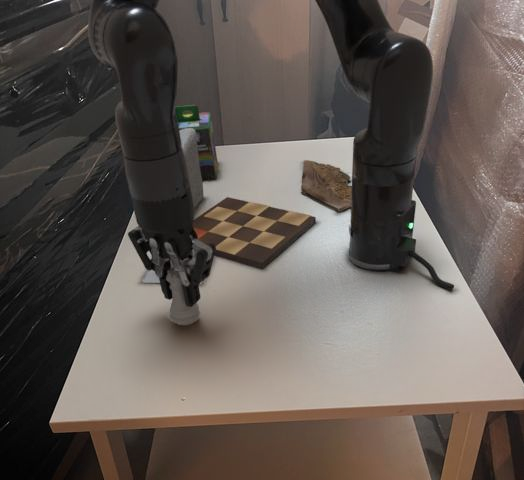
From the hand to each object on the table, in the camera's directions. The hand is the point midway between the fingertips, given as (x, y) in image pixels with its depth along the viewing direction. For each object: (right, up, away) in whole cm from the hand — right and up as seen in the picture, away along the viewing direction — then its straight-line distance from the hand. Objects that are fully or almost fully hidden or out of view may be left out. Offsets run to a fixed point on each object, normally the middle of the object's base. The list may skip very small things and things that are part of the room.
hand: (182, 299), depth 83 cm
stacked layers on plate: (-3, +6, +15) cm, 16 cm away
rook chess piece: (0, -3, +2) cm, 3 cm away
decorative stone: (-4, +20, +32) cm, 38 cm away
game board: (+8, +14, +23) cm, 28 cm away
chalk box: (-3, +32, +46) cm, 56 cm away
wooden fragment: (+24, +27, +37) cm, 51 cm away
